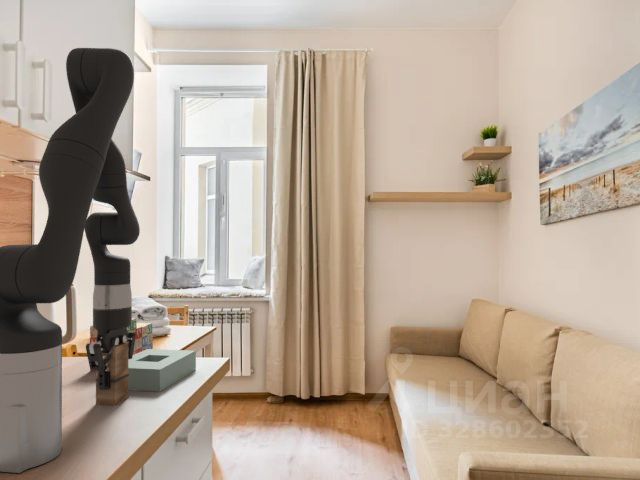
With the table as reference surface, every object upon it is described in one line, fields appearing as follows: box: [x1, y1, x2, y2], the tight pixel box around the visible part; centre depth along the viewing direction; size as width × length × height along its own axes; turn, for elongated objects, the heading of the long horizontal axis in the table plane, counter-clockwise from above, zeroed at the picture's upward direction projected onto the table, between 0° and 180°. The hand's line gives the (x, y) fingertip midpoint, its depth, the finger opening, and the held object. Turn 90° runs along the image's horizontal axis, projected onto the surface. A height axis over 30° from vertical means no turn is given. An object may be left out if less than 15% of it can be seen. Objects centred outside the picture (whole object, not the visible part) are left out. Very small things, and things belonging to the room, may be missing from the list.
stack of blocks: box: [89, 317, 154, 372], centre depth 126 cm, size 21×6×12 cm, turn 172°
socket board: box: [128, 348, 197, 392], centre depth 109 cm, size 18×14×5 cm
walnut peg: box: [95, 343, 129, 406], centre depth 93 cm, size 5×5×12 cm
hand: (112, 384), depth 93 cm, fingers closed on walnut peg, 4 cm apart
